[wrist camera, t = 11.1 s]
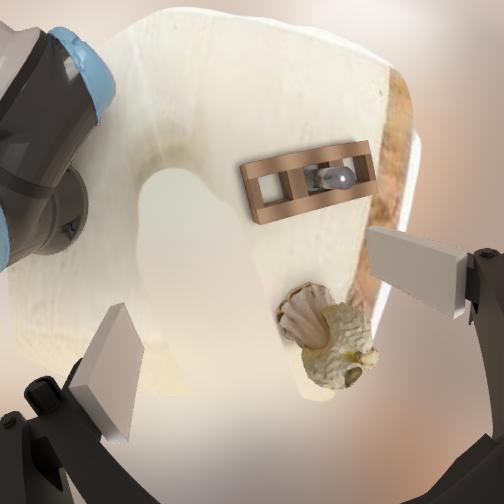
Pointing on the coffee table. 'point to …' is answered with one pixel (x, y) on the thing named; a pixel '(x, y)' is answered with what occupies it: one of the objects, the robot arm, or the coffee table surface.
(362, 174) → the hole block
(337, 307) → the figurine
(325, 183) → the peg
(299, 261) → the coffee table surface
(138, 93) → the coffee table surface
